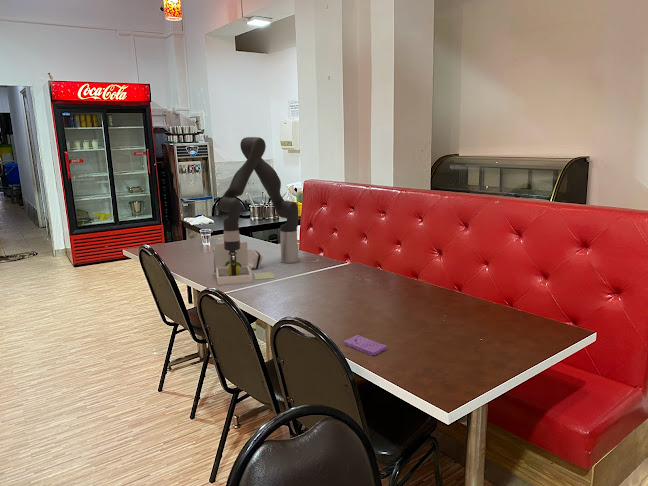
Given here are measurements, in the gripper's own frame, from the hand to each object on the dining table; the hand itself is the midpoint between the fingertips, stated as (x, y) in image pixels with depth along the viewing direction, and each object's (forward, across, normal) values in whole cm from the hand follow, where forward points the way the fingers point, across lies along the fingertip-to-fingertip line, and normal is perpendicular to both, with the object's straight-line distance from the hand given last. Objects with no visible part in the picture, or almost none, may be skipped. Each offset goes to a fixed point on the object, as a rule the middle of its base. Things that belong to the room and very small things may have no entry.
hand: (233, 273), depth 236 cm
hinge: (+3, +22, -11) cm, 25 cm away
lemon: (+3, 0, 0) cm, 3 cm away
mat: (+3, 0, -14) cm, 15 cm away
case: (+2, +1, 0) cm, 3 cm away
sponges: (+3, -93, -36) cm, 100 cm away
